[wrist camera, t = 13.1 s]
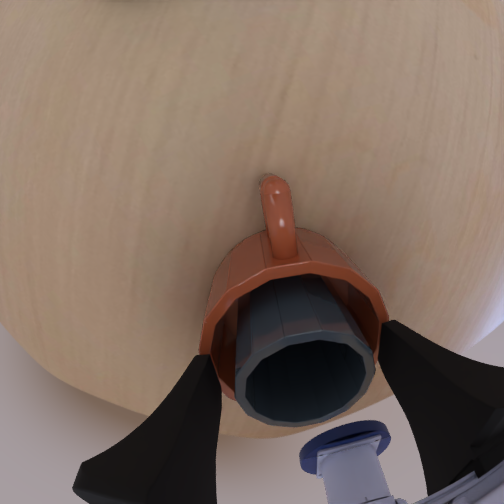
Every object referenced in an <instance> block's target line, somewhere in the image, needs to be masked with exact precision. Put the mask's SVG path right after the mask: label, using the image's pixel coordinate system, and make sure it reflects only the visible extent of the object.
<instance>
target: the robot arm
mask: <svg viewBox="0 0 504 504" xmlns="http://www.w3.org/2000/svg"><path fill="white" fill-rule="evenodd" d="M378 361H379V364H380V366H381V369H382V371H383V374H384V376H385V378H386V380H387V382H388V384H389V386H390V387H391V389H392V391H393V393H394V395H395V396H396V398H397V400H398V402H399V404H400V405H401V407H402V409H403V411H404V413H405V415H406V417H407V419H408V421H409V424H410V427H411V429H412V432H413V435H414V438H415V441H416V444H417V447H418V450H419V453H420V458H421V462H422V466H423V470H424V475H425V481H426V486H427V494H428V497H426V498H424V499H422V500H420V501H418V502H415V503H413V504H504V368H503V367H498V366H493V365H489V364H485V363H481V362H478V361H475V360H471V359H469V358H466V357H463V356H461V355H459V354H456V353H454V352H452V351H450V350H448V349H445V348H443V347H441V346H439V345H438V344H436V343H434V342H432V341H430V340H428V339H427V338H425V337H423V336H421V335H420V334H418V333H416V332H415V331H413V330H411V329H410V328H408V327H406V326H405V325H403V324H401V323H399V322H398V321H396V320H391V321H387V322H384V323H382V326H381V335H380V344H379V351H378ZM221 409H222V389H221V384H220V382H219V379H218V376H217V373H216V370H215V367H214V364H213V362H212V359H211V356H210V354H205V355H196V356H195V357H194V358H193V360H192V361H191V363H190V364H189V366H188V367H187V369H186V370H185V372H184V373H183V375H182V376H181V378H180V379H179V381H178V382H177V383H176V385H175V386H174V387H173V389H172V390H171V392H170V393H169V394H168V395H167V397H166V398H165V399H164V400H163V402H162V403H161V404H160V405H159V406H158V408H157V409H156V410H155V411H154V412H153V413H152V414H151V415H150V416H149V417H148V418H147V419H146V420H145V421H144V422H143V423H142V424H141V425H140V426H139V427H137V428H136V429H135V430H134V431H133V432H131V433H130V434H129V435H128V436H126V437H125V438H124V439H123V440H121V441H120V442H118V443H117V444H115V445H114V446H112V447H111V448H109V449H107V450H106V451H104V452H102V453H100V454H99V455H97V456H95V457H93V458H91V459H89V460H87V461H85V462H82V464H81V466H80V469H79V471H78V474H77V476H76V479H75V482H74V484H73V487H72V488H73V491H74V492H75V493H76V495H78V496H79V497H80V498H82V499H83V500H85V501H86V502H88V503H89V504H217V497H216V449H217V441H218V433H219V425H220V417H221ZM380 440H381V435H380V434H378V435H375V436H372V437H368V438H365V439H362V440H358V441H355V442H351V443H347V444H343V445H339V446H335V447H331V448H326V449H322V450H319V451H318V452H317V474H316V476H317V478H323V480H324V485H325V490H326V495H327V500H328V504H407V502H406V500H404V499H401V498H398V499H394V497H393V495H392V496H391V494H390V492H389V488H388V485H387V483H386V480H385V477H384V474H383V471H382V468H381V466H380V463H379V460H378V457H377V454H376V450H377V448H378V445H379V442H380Z"/></svg>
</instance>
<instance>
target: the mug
mask: <svg viewBox="0 0 504 504" xmlns="http://www.w3.org/2000/svg"><path fill="white" fill-rule="evenodd" d="M259 189H260V195H261V201H262V208H263V214H264V220H265V227H266V230H265V231H262V232H259V233H256V234H254V235H252V236H250V237H248V238H246V239H245V240H243V241H242V242H241V243H239V244H238V245H236V246H235V247H234V248H233V249H232V250H231V251H230V252H229V253H228V254H227V256H226V257H225V258H224V259H223V261H222V263H221V264H220V266H219V268H218V270H217V272H216V273H215V276H214V279H213V283H212V287H211V291H210V295H209V300H208V304H207V308H206V312H205V317H204V321H203V326H202V332H201V338H200V344H199V355H205V354H210V356H211V359H212V362H213V364H214V367H215V370H216V373H217V376H218V379H219V382H220V384H221V389H222V392H223V393H224V394H225V395H226V396H227V397H228V398H230V399H232V400H235V397H234V390H235V362H236V336H237V312H238V298H239V297H241V296H243V295H245V294H246V293H248V292H250V291H252V290H253V289H255V288H257V287H259V286H261V285H262V284H264V283H266V282H268V281H269V280H273V279H279V278H285V277H290V276H296V275H302V274H308V273H312V274H317V275H322V276H326V277H327V278H328V279H329V280H330V282H331V283H332V285H333V286H334V288H335V290H336V291H337V293H338V294H339V296H340V298H341V299H342V301H343V303H344V304H345V306H346V307H347V309H348V311H349V312H350V314H351V316H352V317H353V319H354V321H355V322H356V324H357V326H358V327H359V329H360V331H361V332H362V334H363V336H364V337H365V339H366V341H367V343H368V344H369V346H370V348H371V349H372V351H373V357H374V363H375V364H376V363H377V361H378V351H379V344H380V335H381V326H382V323H384V322H387V321H389V315H388V313H387V310H386V307H385V305H384V302H383V300H382V297H381V295H380V292H379V290H378V289H377V288H376V287H375V286H374V284H373V283H372V282H371V281H370V280H369V279H368V278H367V277H366V276H365V275H364V273H363V272H362V271H361V270H360V269H359V268H358V267H357V266H356V265H355V264H354V263H353V262H352V260H351V259H350V258H349V257H348V256H347V255H346V254H345V253H344V252H343V251H341V250H340V249H339V248H338V247H337V246H335V245H334V244H333V243H332V242H331V241H330V240H328V239H327V238H325V237H324V236H322V235H320V234H318V233H315V232H313V231H310V230H306V229H301V228H295V220H294V213H293V205H292V198H291V191H290V187H289V185H288V183H287V182H286V181H285V180H283V179H281V178H280V177H278V176H276V175H275V174H271V173H269V174H265V175H263V176H262V177H261V179H260V181H259ZM235 401H236V400H235Z"/></svg>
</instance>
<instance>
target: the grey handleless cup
mask: <svg viewBox="0 0 504 504" xmlns="http://www.w3.org/2000/svg"><path fill="white" fill-rule="evenodd" d="M375 371H376V369H375V363H374V357H373V351H372V349H371V348H370V346H369V344H368V343H367V341H366V339H365V337H364V336H363V334H362V332H361V331H360V329H359V327H358V326H357V324H356V322H355V321H354V319H353V317H352V316H351V314H350V312H349V311H348V309H347V307H346V306H345V304H344V303H343V301H342V299H341V298H340V296H339V294H338V293H337V291H336V290H335V288H334V286H333V285H332V283H331V282H330V280H329V279H328V278H327V277H326V276H322V275H317V274H312V273H308V274H302V275H296V276H290V277H285V278H279V279H273V280H269V281H268V282H266V283H264V284H262V285H261V286H259V287H257V288H255V289H253V290H252V291H250V292H248V293H246V294H245V295H243V296H241V297H239V298H238V312H237V336H236V362H235V390H234V397H235V400H236V401H237V402H238V404H239V405H240V406H241V408H242V409H243V410H244V411H245V413H246V414H247V415H248V416H250V417H252V418H254V419H257V420H259V421H261V422H263V423H265V424H268V425H273V426H283V427H301V426H307V425H312V424H317V423H322V422H324V421H327V420H329V419H331V418H333V417H335V416H337V415H339V414H341V413H343V412H345V411H347V410H348V409H349V408H350V407H352V406H353V405H354V404H355V403H356V402H357V401H358V400H359V399H360V398H361V397H362V396H363V395H364V394H365V393H366V392H367V390H368V388H369V386H370V383H371V381H372V379H373V377H374V374H375Z"/></svg>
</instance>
